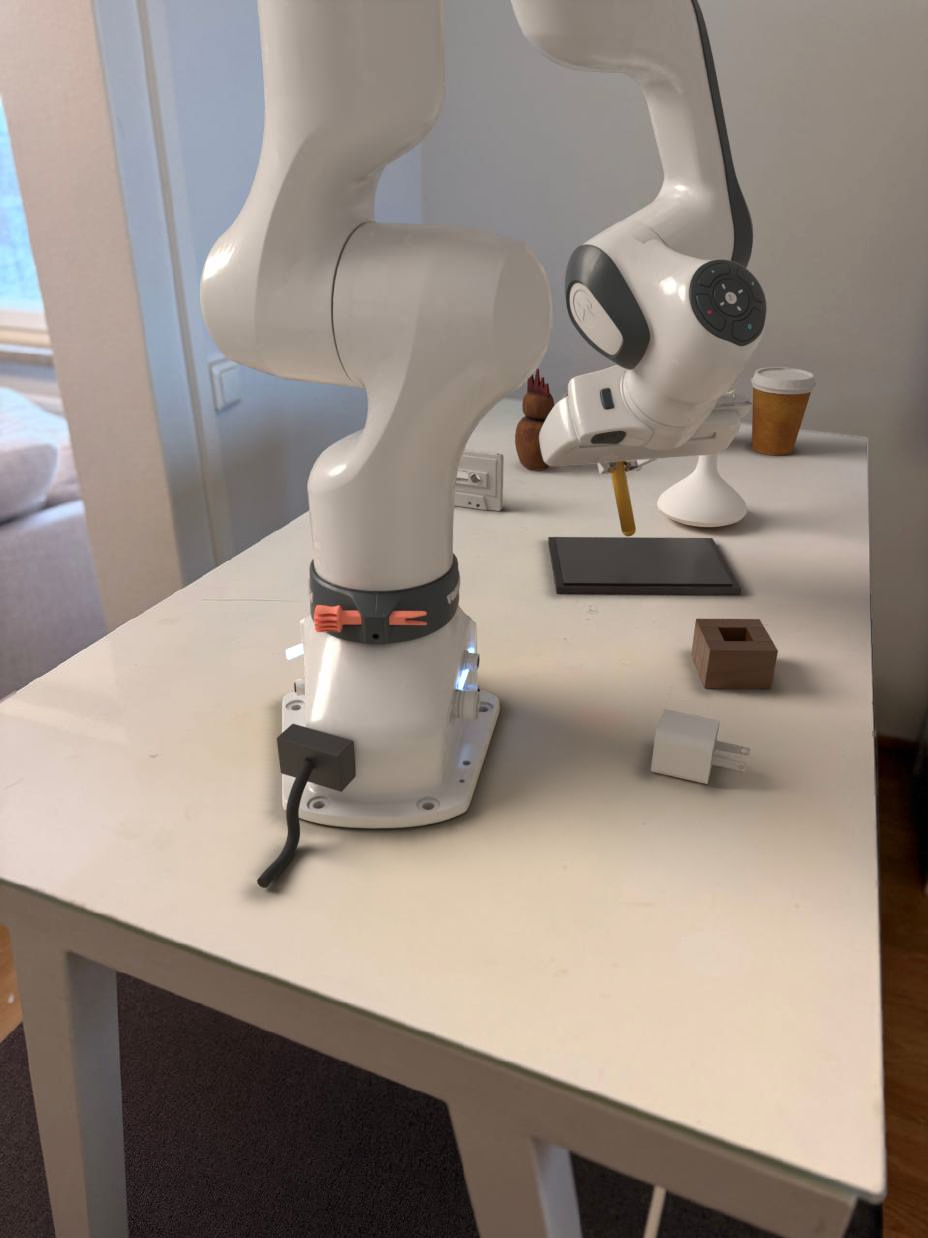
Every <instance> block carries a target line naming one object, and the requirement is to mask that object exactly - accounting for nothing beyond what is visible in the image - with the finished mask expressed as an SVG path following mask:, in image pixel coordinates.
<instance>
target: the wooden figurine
mask: <svg viewBox="0 0 928 1238" xmlns="http://www.w3.org/2000/svg"><path fill="white" fill-rule="evenodd" d="M526 382H527V385H526V393H525V395H524V396H523V399H522V403H521V405H522V406H521V407H522V409H521V410H522V413H523V415H524V416H522V417H521V419H520V420H519V421H518V422H517V425H516V428H515V433H514V441H515V442H514V443H515V444H514V445H515V450H516V454H517V457H518V460H519V462H520V464H521V465H522V466H523V467H524V468H527V469H529V470H533V471H541V470H542V471H543V470H546V469H549V468H550V467H551V466H549V465H547V464H546V463H545V462H544V460H543V457H542V453H541V449H540V442H539V433H540V430H541V428H542V426H543V424H544V422H545V420H546V418H547V416H548V415H549V413H550V412H551V410H552V409H553V407H554V405H555V399H554V396H552V394H551V391H550V384H549V383H548V382H547V383H545V377H544V376H542V377H541V375H540V368H537V369H536V370H535V376H534V373H533V374H532V375H531V376H530V377H529V379H528V380H527V381H526Z"/></svg>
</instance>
